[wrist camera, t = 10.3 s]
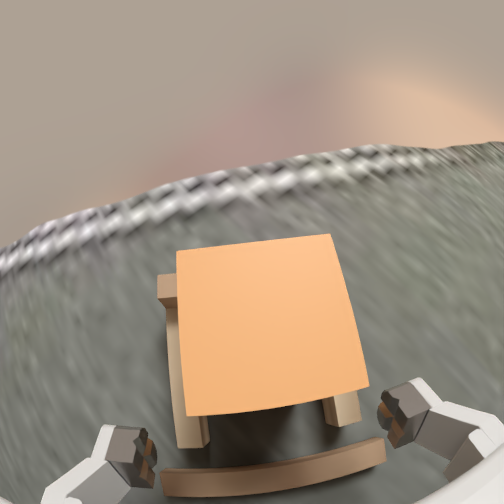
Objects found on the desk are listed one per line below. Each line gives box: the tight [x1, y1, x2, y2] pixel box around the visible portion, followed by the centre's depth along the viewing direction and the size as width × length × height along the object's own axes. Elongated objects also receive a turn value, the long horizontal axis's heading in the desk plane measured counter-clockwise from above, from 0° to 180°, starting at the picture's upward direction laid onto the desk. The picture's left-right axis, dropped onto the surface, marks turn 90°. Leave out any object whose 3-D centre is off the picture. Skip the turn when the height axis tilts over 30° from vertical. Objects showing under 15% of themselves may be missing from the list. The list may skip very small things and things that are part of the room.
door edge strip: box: [160, 437, 386, 497], centre depth 11 cm, size 12×2×1 cm, turn 98°
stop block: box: [177, 234, 369, 416], centre depth 11 cm, size 4×4×10 cm
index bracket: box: [157, 273, 362, 448], centre depth 13 cm, size 9×8×4 cm
